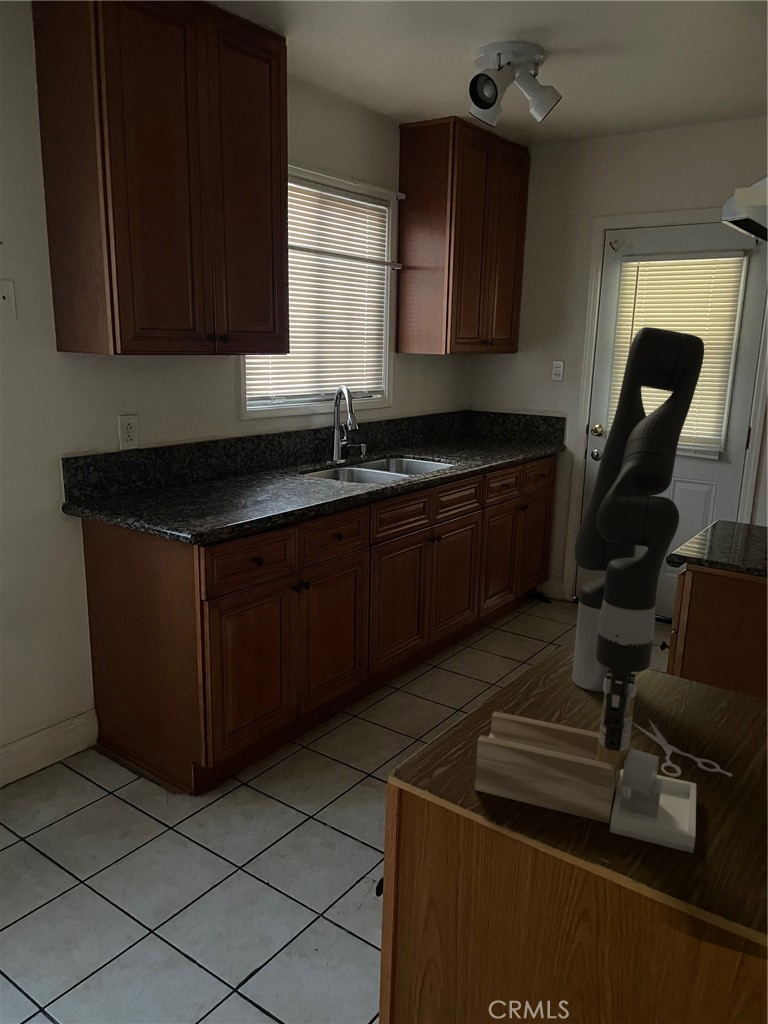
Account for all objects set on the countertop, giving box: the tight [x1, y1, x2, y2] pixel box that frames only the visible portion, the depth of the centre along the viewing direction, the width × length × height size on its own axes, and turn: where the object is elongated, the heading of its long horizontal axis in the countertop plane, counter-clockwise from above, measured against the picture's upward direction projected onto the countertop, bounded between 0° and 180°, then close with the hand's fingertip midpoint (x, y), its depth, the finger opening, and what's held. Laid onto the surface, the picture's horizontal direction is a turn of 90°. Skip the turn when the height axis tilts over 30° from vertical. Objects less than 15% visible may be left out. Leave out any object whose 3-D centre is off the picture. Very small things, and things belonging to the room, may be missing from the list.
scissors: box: [632, 718, 733, 778], centre depth 131 cm, size 11×1×20 cm
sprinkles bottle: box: [596, 677, 638, 771], centre depth 111 cm, size 5×5×13 cm
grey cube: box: [622, 747, 660, 794], centre depth 110 cm, size 4×4×4 cm
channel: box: [474, 711, 619, 824], centre depth 116 cm, size 10×20×8 cm, turn 68°
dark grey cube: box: [628, 778, 662, 818], centre depth 111 cm, size 4×4×4 cm
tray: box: [609, 769, 697, 854], centre depth 111 cm, size 14×11×2 cm
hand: (614, 740), depth 112 cm, fingers closed on sprinkles bottle, 4 cm apart
